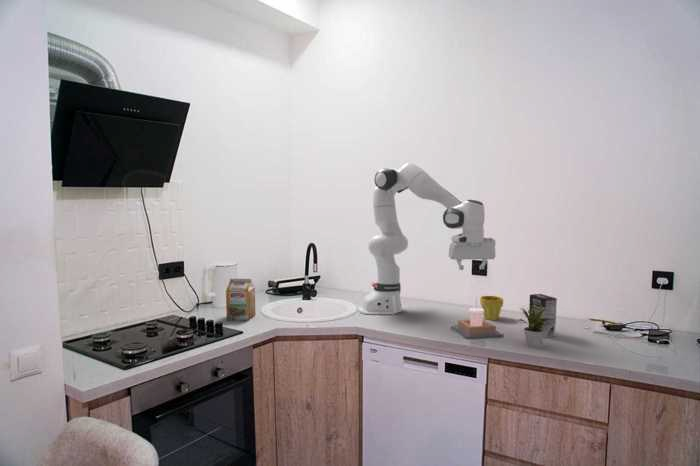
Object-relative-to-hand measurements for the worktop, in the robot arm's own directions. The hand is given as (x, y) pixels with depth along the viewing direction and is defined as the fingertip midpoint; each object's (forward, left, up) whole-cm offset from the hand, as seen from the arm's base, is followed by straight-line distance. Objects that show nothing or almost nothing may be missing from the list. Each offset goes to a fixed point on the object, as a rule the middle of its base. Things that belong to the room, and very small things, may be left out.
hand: (471, 269), depth 198 cm
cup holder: (0, -6, -26) cm, 27 cm away
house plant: (+13, -26, -26) cm, 39 cm away
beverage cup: (0, -6, -25) cm, 26 cm away
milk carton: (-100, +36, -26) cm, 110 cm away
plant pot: (+17, +14, -26) cm, 35 cm away
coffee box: (+26, -13, -26) cm, 39 cm away
